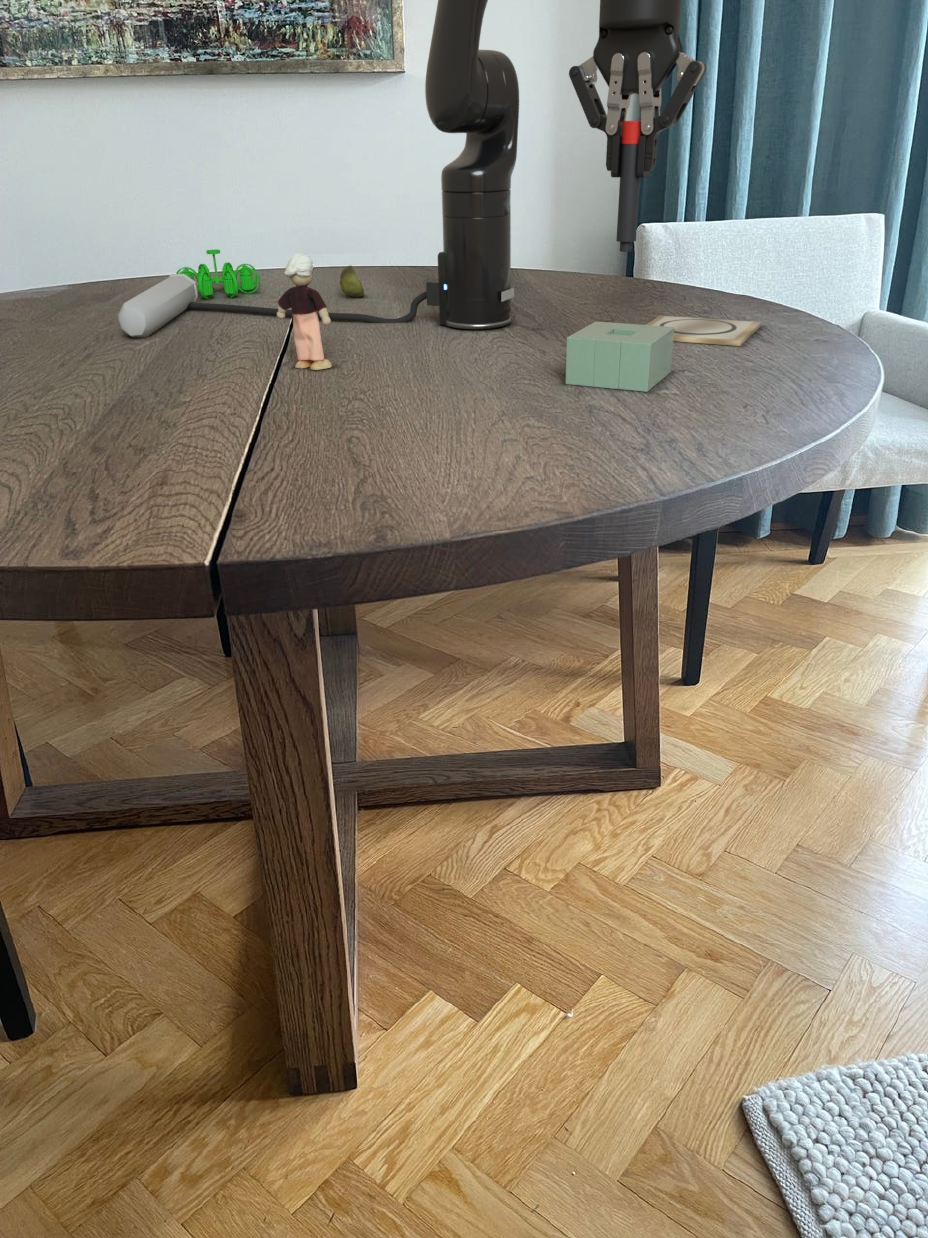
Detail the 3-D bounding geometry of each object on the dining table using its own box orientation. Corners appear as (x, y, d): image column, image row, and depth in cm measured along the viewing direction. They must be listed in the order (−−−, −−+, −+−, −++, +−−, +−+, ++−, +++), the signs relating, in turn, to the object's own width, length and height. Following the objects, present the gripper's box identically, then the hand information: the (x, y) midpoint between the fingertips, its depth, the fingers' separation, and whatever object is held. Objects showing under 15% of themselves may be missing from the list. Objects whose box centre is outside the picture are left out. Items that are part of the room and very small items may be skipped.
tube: (153, 309, 125) (201, 278, 147) (113, 297, 124) (167, 268, 146) (148, 348, 128) (195, 312, 149) (109, 336, 127) (162, 301, 149)
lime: (352, 294, 156) (349, 262, 154) (374, 296, 154) (371, 264, 151) (334, 298, 153) (331, 266, 151) (356, 300, 151) (353, 268, 148)
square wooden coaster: (631, 337, 121) (631, 331, 121) (659, 319, 131) (659, 313, 131) (740, 346, 116) (740, 339, 115) (760, 326, 126) (761, 320, 125)
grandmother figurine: (345, 364, 112) (336, 252, 106) (331, 371, 109) (320, 256, 103) (289, 360, 114) (276, 250, 108) (273, 368, 111) (259, 255, 105)
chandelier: (194, 285, 168) (188, 244, 165) (274, 285, 166) (269, 244, 163) (159, 300, 155) (152, 256, 152) (245, 300, 153) (240, 255, 150)
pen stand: (565, 383, 102) (566, 337, 99) (593, 365, 109) (595, 321, 106) (647, 392, 98) (650, 343, 95) (670, 372, 105) (674, 326, 103)
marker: (612, 251, 97) (619, 120, 91) (619, 249, 98) (626, 120, 92) (632, 252, 96) (640, 120, 90) (638, 250, 97) (647, 120, 92)
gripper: (727, -34, 85) (707, 175, 94) (585, -22, 91) (578, 173, 99) (708, -43, 80) (688, 180, 88) (557, -31, 85) (552, 178, 93)
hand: (629, 176), depth 94 cm, fingers closed on marker, 2 cm apart
